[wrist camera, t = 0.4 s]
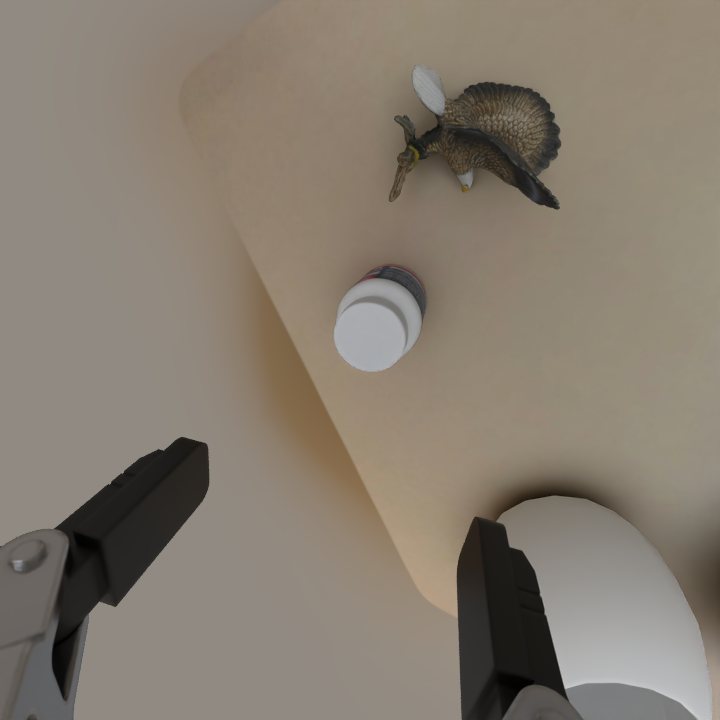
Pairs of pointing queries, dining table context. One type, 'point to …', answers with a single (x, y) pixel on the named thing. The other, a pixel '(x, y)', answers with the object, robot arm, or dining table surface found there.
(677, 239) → the dining table surface
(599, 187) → the dining table surface
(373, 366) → the pill bottle
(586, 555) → the cup
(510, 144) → the eagle figurine
